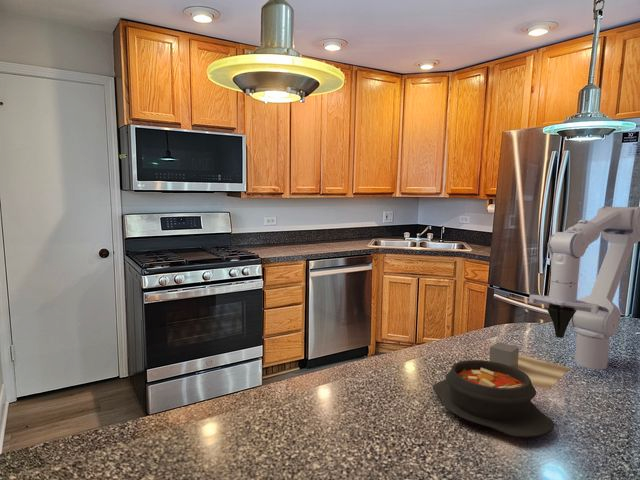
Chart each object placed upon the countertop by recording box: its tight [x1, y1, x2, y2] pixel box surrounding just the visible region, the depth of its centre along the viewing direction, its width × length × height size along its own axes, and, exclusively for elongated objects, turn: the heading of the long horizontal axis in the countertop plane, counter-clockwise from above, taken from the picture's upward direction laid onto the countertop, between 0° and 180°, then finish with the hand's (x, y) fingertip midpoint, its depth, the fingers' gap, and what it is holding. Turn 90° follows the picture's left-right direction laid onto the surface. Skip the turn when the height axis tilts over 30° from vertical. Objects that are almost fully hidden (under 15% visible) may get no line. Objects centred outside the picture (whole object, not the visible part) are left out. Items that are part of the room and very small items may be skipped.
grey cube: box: [488, 341, 520, 369], centre depth 106 cm, size 5×5×6 cm
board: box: [487, 354, 571, 390], centre depth 107 cm, size 18×17×1 cm
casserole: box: [432, 359, 555, 438], centre depth 85 cm, size 25×19×8 cm
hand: (559, 336), depth 102 cm, fingers closed
